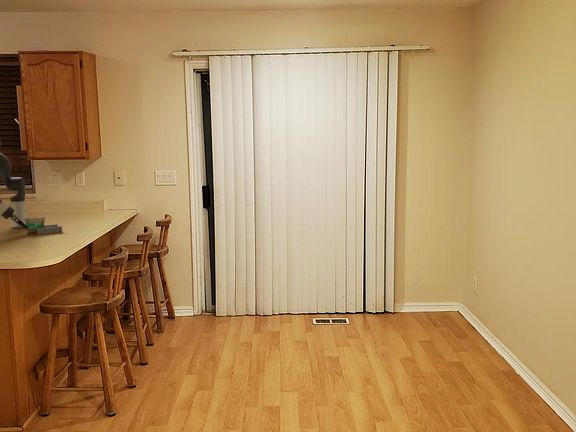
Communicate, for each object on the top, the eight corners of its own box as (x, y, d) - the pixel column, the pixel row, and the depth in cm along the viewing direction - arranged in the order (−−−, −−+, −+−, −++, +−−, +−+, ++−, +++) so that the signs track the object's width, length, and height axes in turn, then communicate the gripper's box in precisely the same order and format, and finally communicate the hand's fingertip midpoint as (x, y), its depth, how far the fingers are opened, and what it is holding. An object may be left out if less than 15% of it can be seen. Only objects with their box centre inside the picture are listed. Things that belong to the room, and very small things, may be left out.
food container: (23, 234, 368) (21, 218, 367) (25, 233, 374) (24, 217, 373) (44, 234, 371) (43, 218, 369) (46, 232, 377) (45, 216, 375)
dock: (35, 232, 378) (34, 226, 378) (59, 230, 385) (58, 224, 385) (37, 234, 368) (37, 228, 367) (62, 232, 375) (61, 226, 374)
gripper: (9, 206, 358) (32, 225, 365) (7, 204, 369) (30, 222, 377) (0, 215, 356) (24, 234, 363) (-1, 213, 367) (21, 231, 375)
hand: (27, 228), depth 370 cm, fingers closed
